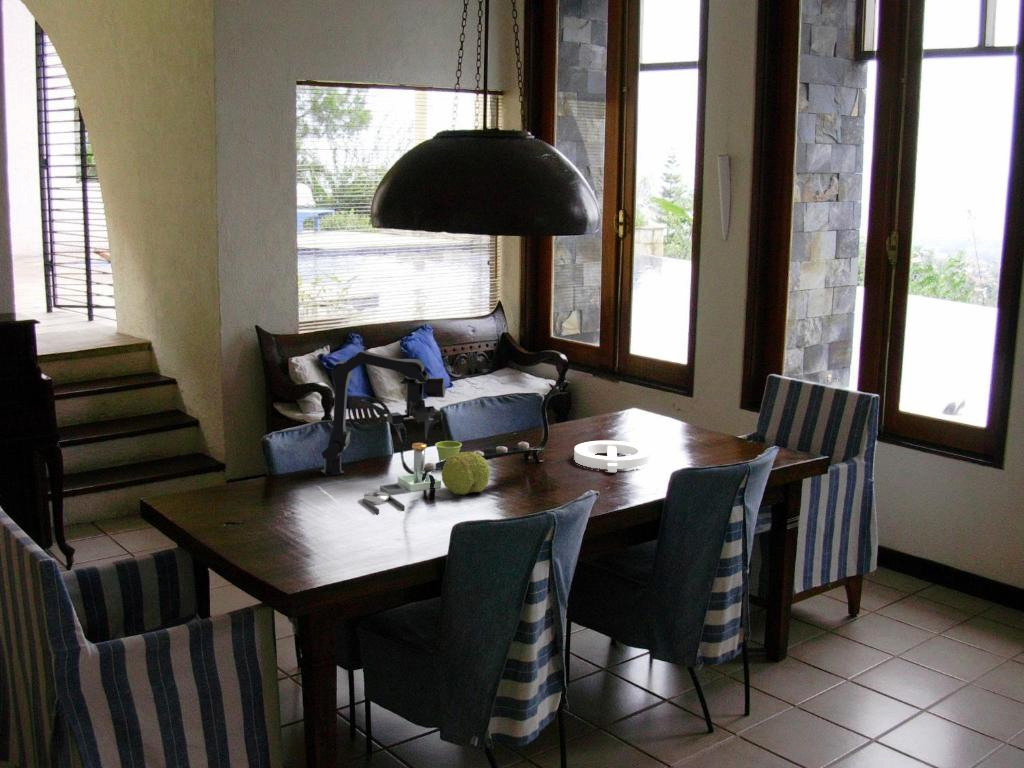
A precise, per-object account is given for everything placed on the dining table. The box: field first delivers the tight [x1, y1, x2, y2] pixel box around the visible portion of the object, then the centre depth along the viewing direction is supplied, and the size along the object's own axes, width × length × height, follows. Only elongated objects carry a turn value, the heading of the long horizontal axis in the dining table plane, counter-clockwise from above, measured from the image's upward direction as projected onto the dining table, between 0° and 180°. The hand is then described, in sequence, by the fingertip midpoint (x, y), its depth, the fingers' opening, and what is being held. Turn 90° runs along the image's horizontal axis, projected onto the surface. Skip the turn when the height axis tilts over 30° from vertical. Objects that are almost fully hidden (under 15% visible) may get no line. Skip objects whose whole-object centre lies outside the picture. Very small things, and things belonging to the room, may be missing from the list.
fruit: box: [441, 451, 491, 495], centre depth 374 cm, size 16×14×15 cm
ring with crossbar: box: [573, 440, 651, 473], centre depth 418 cm, size 28×28×5 cm
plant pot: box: [435, 440, 462, 462], centre depth 404 cm, size 9×9×9 cm
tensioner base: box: [375, 483, 411, 497], centre depth 373 cm, size 9×9×2 cm
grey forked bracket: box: [362, 491, 406, 516], centre depth 359 cm, size 16×9×3 cm, turn 29°
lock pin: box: [411, 442, 427, 484], centre depth 379 cm, size 5×5×14 cm
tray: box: [397, 473, 442, 493], centre depth 380 cm, size 11×11×3 cm
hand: (414, 440), depth 390 cm, fingers open, 9 cm apart
